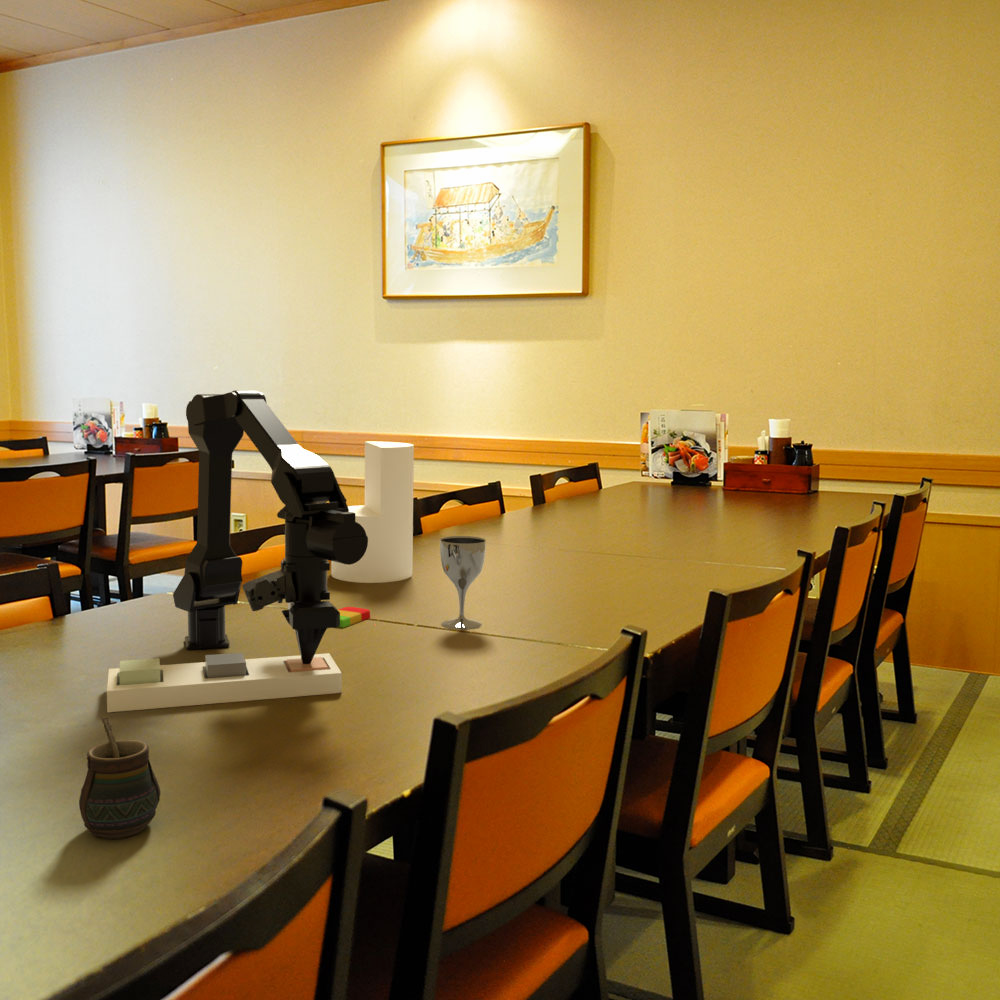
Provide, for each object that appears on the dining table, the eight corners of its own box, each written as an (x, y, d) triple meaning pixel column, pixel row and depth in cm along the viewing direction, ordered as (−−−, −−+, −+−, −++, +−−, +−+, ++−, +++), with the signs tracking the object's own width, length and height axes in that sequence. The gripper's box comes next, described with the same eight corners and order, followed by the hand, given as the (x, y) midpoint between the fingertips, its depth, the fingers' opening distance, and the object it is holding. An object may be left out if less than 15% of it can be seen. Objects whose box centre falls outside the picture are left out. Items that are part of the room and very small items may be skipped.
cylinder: (402, 565, 231) (403, 441, 228) (420, 580, 215) (422, 447, 211) (325, 568, 226) (325, 441, 222) (338, 584, 209) (338, 447, 206)
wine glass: (462, 616, 185) (464, 534, 183) (493, 625, 179) (495, 540, 177) (429, 623, 179) (430, 539, 177) (459, 632, 174) (461, 545, 172)
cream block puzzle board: (109, 688, 140) (109, 668, 140) (329, 671, 150) (329, 653, 149) (107, 712, 131) (106, 691, 130) (341, 692, 140) (341, 672, 140)
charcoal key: (205, 672, 141) (205, 655, 141) (242, 670, 143) (242, 652, 143) (207, 683, 137) (207, 665, 136) (246, 680, 138) (246, 662, 138)
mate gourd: (103, 854, 93) (98, 748, 92) (64, 829, 98) (59, 728, 97) (174, 828, 99) (171, 728, 97) (134, 806, 104) (130, 710, 102)
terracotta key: (286, 676, 145) (286, 659, 145) (321, 674, 147) (321, 657, 147) (291, 687, 141) (291, 669, 140) (327, 684, 142) (327, 666, 142)
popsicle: (372, 619, 184) (373, 609, 183) (323, 638, 170) (323, 627, 170) (347, 615, 186) (347, 605, 186) (296, 633, 173) (296, 622, 172)
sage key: (120, 679, 138) (120, 661, 137) (159, 676, 139) (159, 658, 139) (119, 690, 133) (119, 671, 133) (160, 687, 135) (160, 668, 134)
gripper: (239, 544, 148) (240, 649, 150) (253, 569, 130) (254, 688, 132) (317, 541, 151) (317, 644, 153) (340, 565, 134) (340, 681, 136)
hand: (306, 663), depth 143 cm, fingers closed, pressing on terracotta key
